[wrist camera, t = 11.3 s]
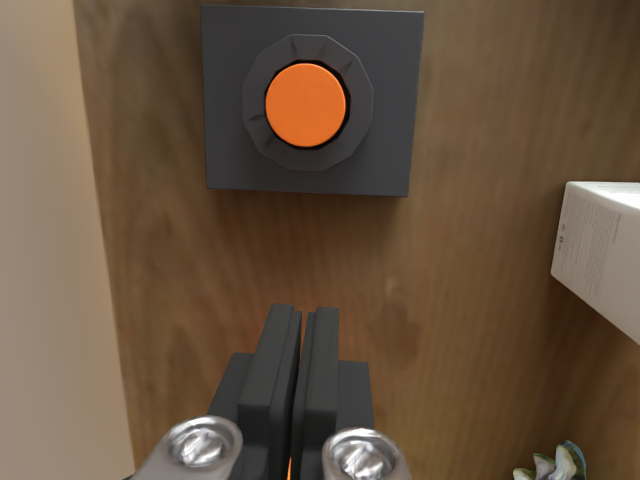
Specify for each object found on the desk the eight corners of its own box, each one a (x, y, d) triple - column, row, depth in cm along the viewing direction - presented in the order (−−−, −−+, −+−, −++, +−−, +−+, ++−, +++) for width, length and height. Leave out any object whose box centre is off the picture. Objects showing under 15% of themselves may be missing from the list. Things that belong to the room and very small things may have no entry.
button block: (215, 182, 30) (197, 194, 26) (210, 11, 27) (189, -4, 23) (402, 190, 29) (412, 204, 25) (418, 18, 26) (432, 4, 23)
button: (269, 142, 25) (265, 145, 24) (270, 64, 24) (265, 61, 22) (342, 145, 25) (343, 148, 23) (346, 67, 24) (347, 64, 22)
